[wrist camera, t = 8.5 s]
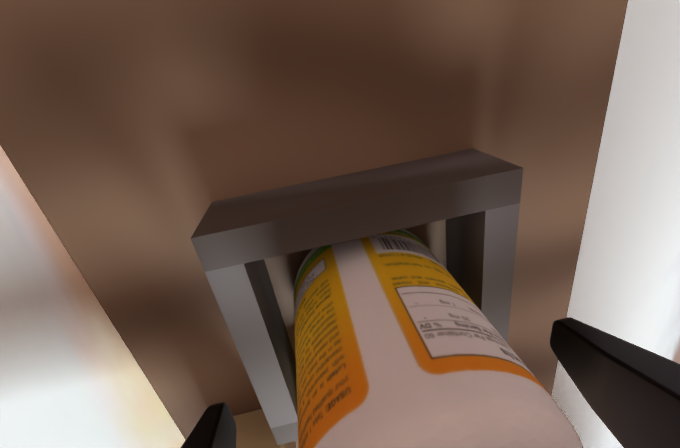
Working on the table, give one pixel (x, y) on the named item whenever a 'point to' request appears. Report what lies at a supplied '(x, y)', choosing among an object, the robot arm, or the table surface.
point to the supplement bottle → (408, 357)
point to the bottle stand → (303, 165)
